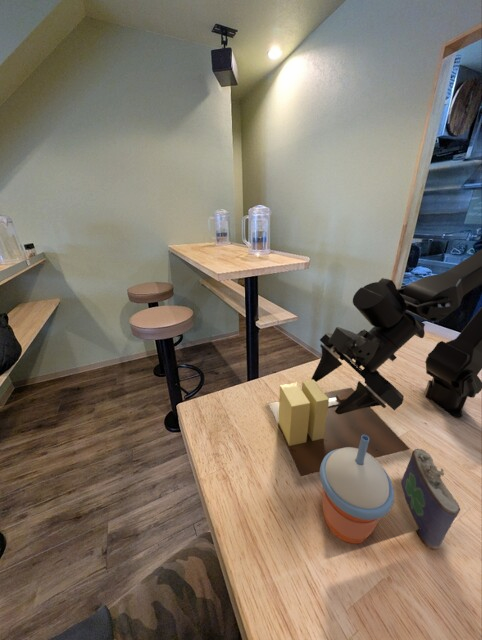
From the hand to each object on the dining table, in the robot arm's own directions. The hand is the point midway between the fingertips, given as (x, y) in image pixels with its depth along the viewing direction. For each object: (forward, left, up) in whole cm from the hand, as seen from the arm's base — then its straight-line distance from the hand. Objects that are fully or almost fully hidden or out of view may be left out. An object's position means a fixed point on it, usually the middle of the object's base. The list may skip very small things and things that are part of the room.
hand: (323, 395), depth 49 cm
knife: (0, -8, -8) cm, 11 cm away
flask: (-17, +8, -10) cm, 21 cm away
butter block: (+4, +4, -8) cm, 10 cm away
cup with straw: (-8, +15, -10) cm, 19 cm away
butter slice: (+1, +1, -8) cm, 8 cm away
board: (-2, -2, -10) cm, 10 cm away
